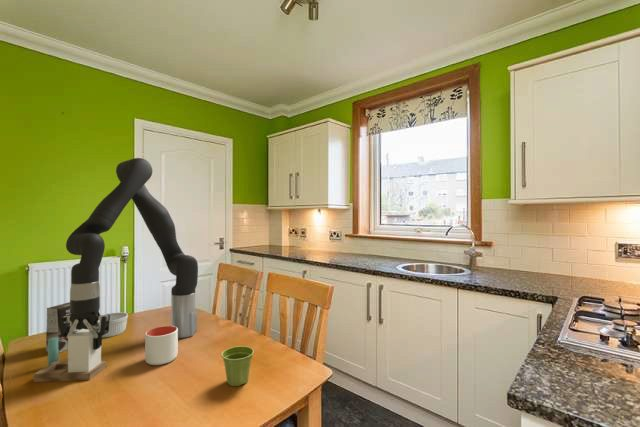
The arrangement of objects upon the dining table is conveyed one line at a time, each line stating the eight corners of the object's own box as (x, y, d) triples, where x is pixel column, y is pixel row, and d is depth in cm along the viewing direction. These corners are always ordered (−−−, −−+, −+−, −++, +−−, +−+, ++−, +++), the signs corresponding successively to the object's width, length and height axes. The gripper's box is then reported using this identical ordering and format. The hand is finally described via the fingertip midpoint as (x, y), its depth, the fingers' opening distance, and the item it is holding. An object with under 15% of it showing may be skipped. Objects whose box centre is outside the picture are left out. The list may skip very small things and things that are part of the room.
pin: (60, 364, 104) (60, 337, 104) (54, 367, 101) (54, 340, 101) (52, 364, 103) (52, 337, 104) (45, 368, 101) (45, 340, 101)
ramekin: (120, 325, 140) (120, 310, 141) (133, 331, 133) (133, 315, 133) (85, 334, 130) (85, 318, 130) (97, 342, 122) (97, 324, 122)
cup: (184, 356, 109) (184, 328, 109) (158, 369, 100) (158, 338, 100) (164, 351, 113) (164, 324, 113) (138, 363, 104) (138, 333, 104)
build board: (80, 367, 101) (80, 360, 101) (61, 380, 93) (61, 372, 93) (54, 368, 100) (54, 361, 100) (33, 381, 92) (33, 373, 92)
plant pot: (227, 373, 98) (227, 345, 98) (257, 373, 97) (257, 345, 97) (216, 389, 88) (216, 359, 88) (249, 390, 88) (249, 359, 88)
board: (106, 367, 102) (106, 333, 102) (89, 379, 94) (89, 343, 94) (80, 367, 101) (80, 334, 101) (61, 380, 93) (62, 344, 93)
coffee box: (59, 353, 112) (59, 308, 112) (45, 352, 113) (45, 307, 113) (83, 343, 121) (83, 302, 121) (70, 342, 122) (70, 301, 122)
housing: (101, 362, 100) (101, 328, 101) (88, 371, 94) (88, 335, 95) (81, 363, 100) (81, 329, 100) (67, 372, 94) (68, 336, 94)
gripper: (116, 292, 102) (115, 343, 102) (70, 293, 101) (69, 344, 101) (101, 298, 94) (101, 353, 94) (51, 299, 93) (51, 355, 93)
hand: (84, 348), depth 97 cm, fingers open, 6 cm apart
